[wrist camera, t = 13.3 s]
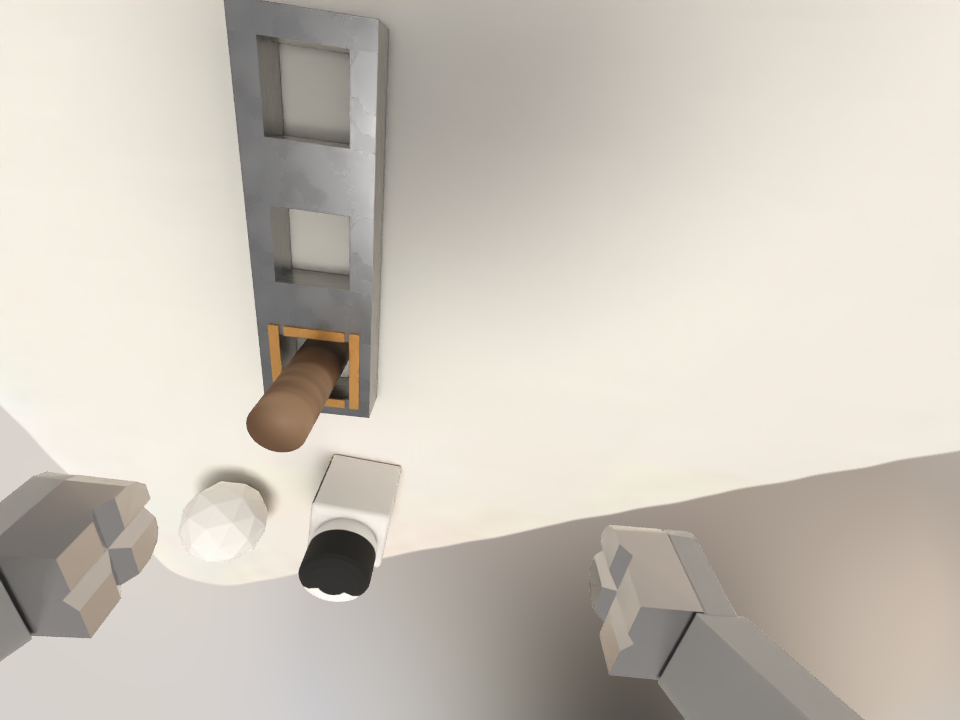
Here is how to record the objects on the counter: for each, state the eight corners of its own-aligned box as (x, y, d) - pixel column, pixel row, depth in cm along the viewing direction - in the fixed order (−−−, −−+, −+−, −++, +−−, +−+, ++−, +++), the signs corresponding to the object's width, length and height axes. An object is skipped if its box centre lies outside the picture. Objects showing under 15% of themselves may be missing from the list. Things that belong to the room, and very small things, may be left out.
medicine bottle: (333, 452, 47) (290, 550, 36) (402, 465, 48) (380, 564, 37) (327, 502, 50) (286, 605, 39) (392, 513, 51) (369, 617, 40)
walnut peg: (330, 321, 40) (277, 393, 29) (359, 355, 42) (319, 436, 31) (296, 343, 41) (233, 421, 30) (326, 375, 43) (276, 460, 32)
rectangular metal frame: (249, 7, 30) (221, -7, 26) (388, 29, 30) (377, 18, 27) (281, 386, 43) (264, 408, 40) (376, 396, 44) (368, 419, 40)
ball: (272, 479, 52) (290, 543, 48) (204, 516, 51) (217, 585, 47) (233, 455, 46) (250, 527, 42) (154, 497, 44) (164, 575, 40)
